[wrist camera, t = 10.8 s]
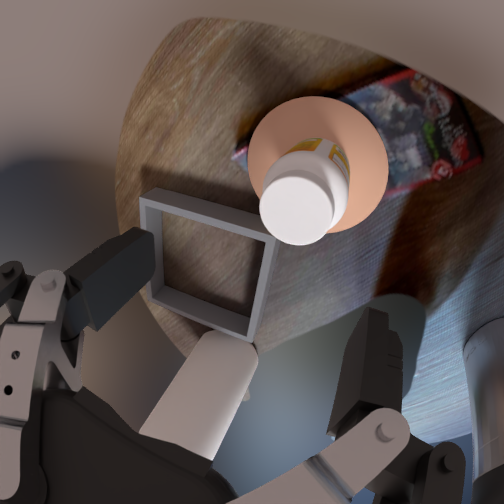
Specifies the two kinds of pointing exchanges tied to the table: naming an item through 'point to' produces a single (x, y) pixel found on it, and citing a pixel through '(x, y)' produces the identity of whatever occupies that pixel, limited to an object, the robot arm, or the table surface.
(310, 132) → the plate
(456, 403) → the table surface
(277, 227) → the supplement bottle
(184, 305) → the bin
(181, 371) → the alcohol
